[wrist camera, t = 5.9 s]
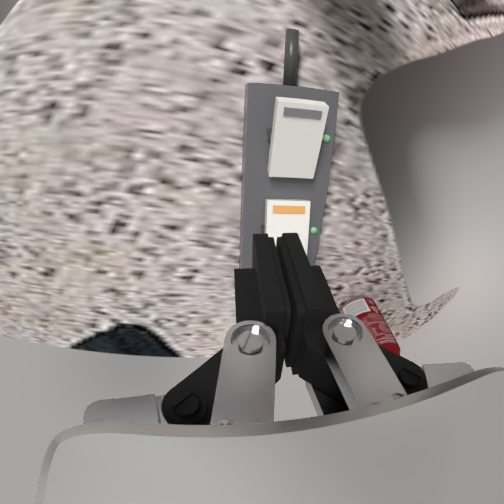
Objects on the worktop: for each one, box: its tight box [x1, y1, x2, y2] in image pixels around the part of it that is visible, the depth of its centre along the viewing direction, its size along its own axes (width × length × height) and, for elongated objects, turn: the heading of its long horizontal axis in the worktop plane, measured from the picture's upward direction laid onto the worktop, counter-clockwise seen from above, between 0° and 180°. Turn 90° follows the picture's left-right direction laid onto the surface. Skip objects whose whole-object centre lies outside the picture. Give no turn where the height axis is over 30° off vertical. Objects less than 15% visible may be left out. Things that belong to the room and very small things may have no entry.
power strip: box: [239, 29, 339, 269], centre depth 28 cm, size 34×8×5 cm, turn 177°
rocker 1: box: [267, 97, 329, 179], centre depth 22 cm, size 7×4×1 cm, turn 177°
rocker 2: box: [265, 199, 310, 255], centre depth 27 cm, size 7×4×1 cm, turn 178°
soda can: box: [338, 297, 400, 356], centre depth 36 cm, size 7×7×12 cm
